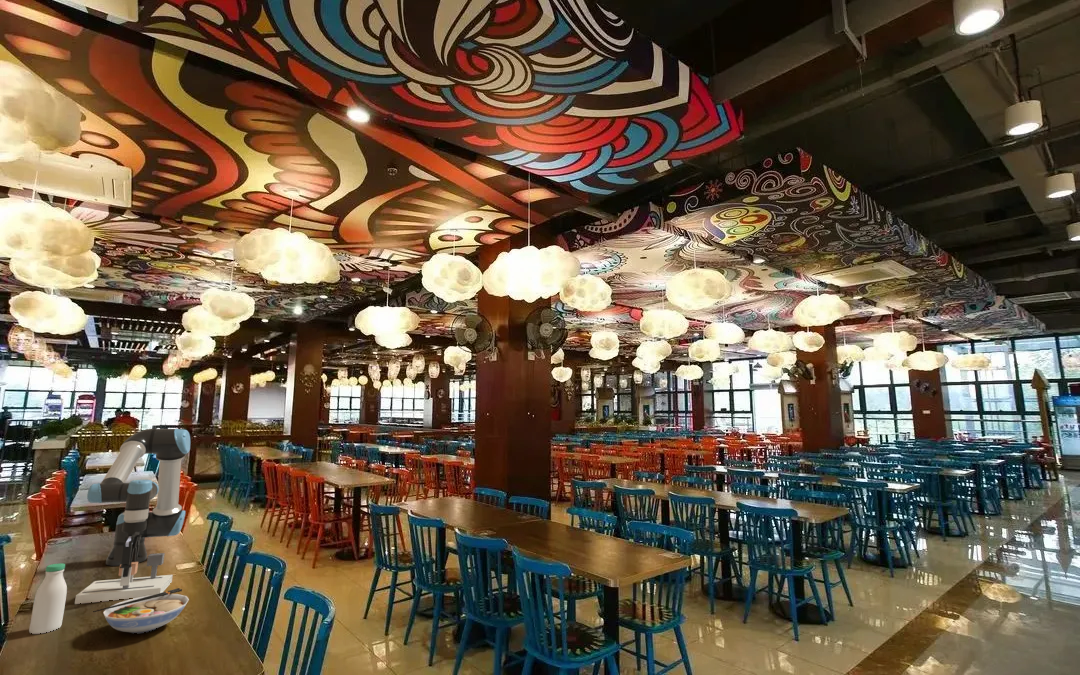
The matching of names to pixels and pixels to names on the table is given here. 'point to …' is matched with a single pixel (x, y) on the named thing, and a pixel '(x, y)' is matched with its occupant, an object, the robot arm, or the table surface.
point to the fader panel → (114, 591)
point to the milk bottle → (49, 601)
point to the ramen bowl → (145, 612)
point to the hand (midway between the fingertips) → (126, 583)
